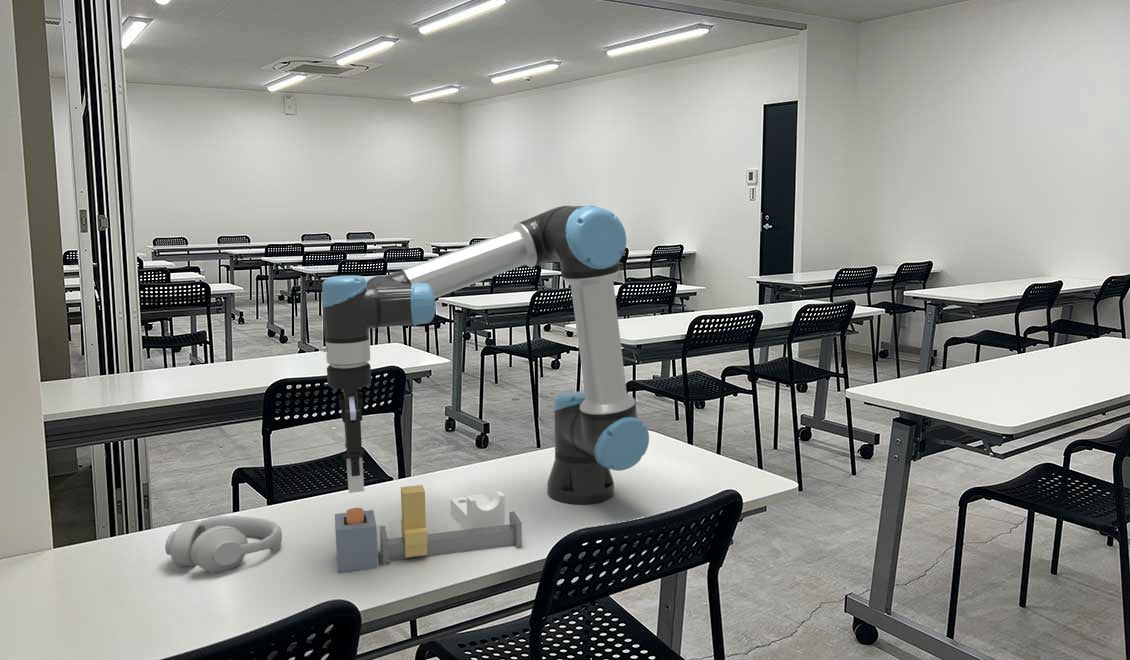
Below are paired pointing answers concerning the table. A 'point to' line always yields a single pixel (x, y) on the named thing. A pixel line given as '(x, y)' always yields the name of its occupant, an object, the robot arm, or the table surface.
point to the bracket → (479, 511)
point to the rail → (457, 540)
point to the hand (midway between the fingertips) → (356, 490)
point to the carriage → (414, 520)
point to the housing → (356, 543)
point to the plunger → (355, 516)
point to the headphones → (220, 541)
